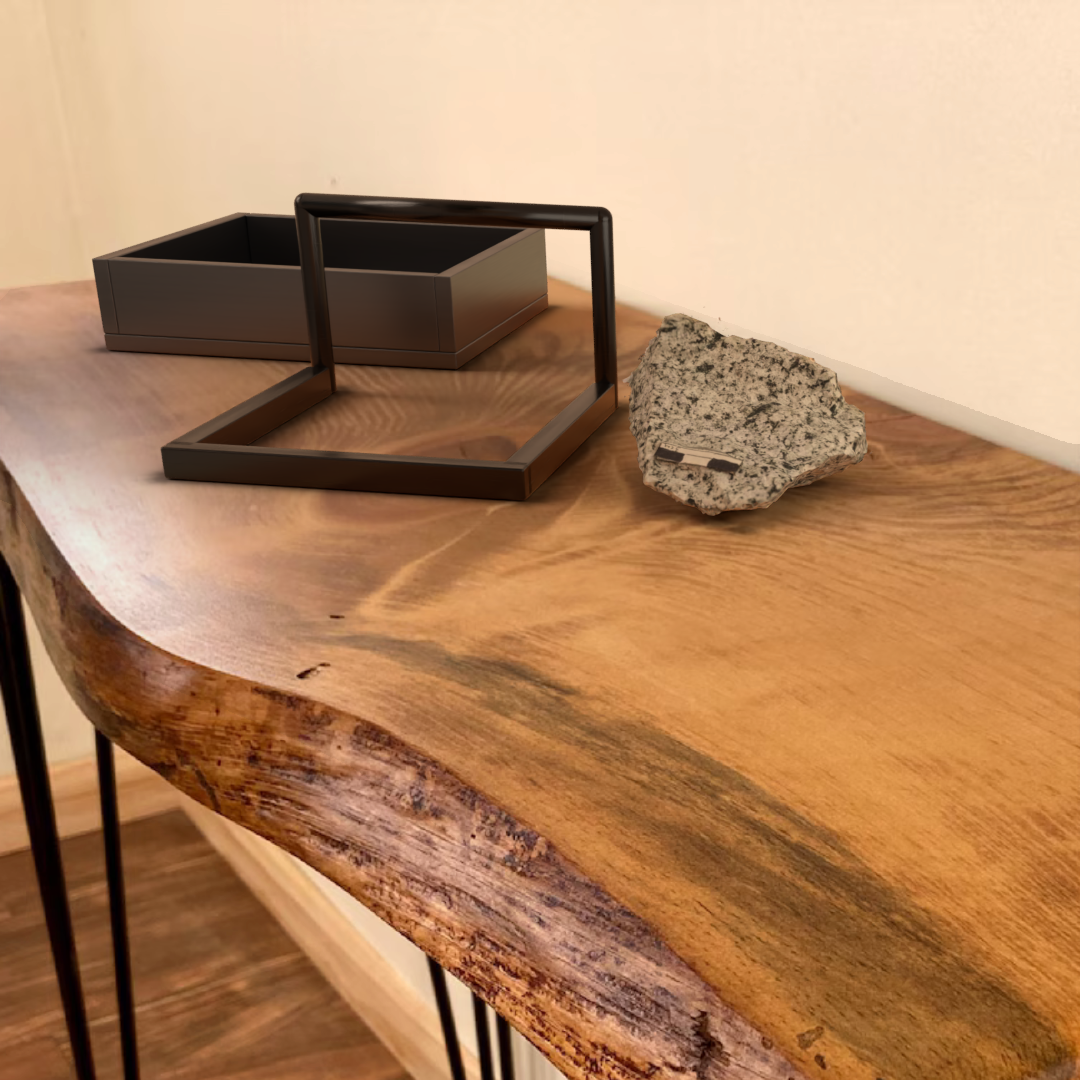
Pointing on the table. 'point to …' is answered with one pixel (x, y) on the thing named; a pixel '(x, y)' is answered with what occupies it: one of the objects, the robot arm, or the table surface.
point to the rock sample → (736, 418)
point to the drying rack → (224, 438)
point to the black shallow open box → (352, 289)
